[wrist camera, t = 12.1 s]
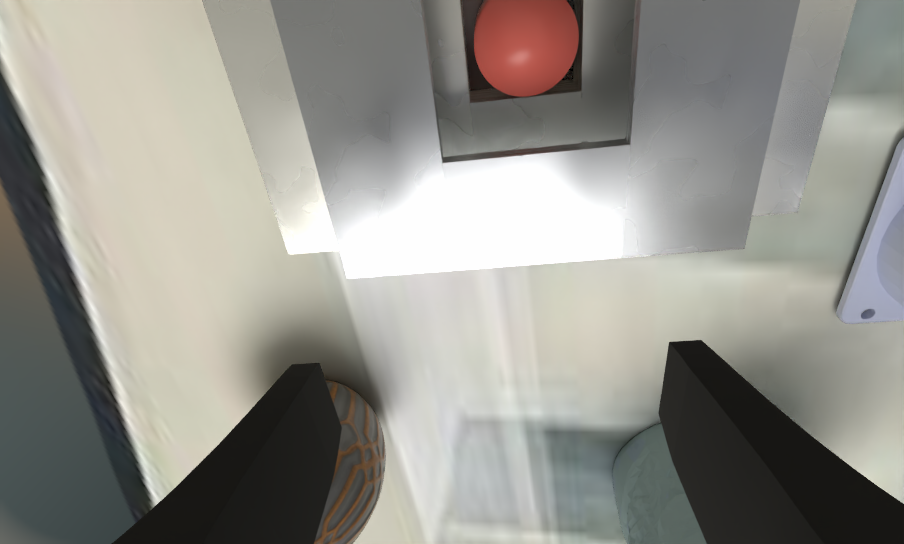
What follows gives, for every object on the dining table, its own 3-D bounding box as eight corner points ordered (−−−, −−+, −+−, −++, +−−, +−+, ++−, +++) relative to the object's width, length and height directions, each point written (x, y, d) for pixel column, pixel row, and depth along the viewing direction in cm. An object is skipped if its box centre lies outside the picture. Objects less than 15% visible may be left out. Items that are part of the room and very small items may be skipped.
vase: (349, 339, 23) (289, 522, 16) (418, 431, 26) (395, 618, 19) (231, 381, 25) (129, 563, 18) (309, 463, 28) (250, 644, 21)
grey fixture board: (903, -333, 11) (1105, -465, 8) (774, 193, 18) (848, 255, 15) (164, -199, 13) (43, -255, 10) (301, 234, 20) (261, 298, 17)
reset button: (565, -28, 15) (579, -24, 13) (564, 72, 16) (578, 91, 14) (470, -16, 15) (468, -10, 13) (478, 82, 17) (478, 101, 14)
